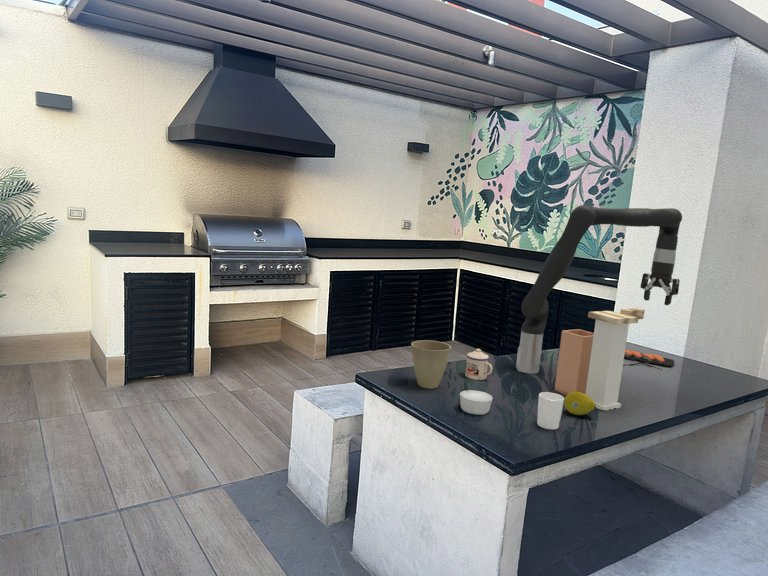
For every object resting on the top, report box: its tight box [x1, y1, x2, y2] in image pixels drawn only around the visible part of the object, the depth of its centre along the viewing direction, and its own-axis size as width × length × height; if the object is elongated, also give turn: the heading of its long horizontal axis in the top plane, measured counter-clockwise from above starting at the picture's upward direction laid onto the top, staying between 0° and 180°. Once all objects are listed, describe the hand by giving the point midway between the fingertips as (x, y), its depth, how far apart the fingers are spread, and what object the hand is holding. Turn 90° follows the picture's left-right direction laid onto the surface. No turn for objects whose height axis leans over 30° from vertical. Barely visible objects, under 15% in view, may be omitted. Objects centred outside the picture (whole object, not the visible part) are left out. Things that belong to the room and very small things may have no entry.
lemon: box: [563, 391, 596, 416], centre depth 193 cm, size 11×8×8 cm
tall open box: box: [554, 328, 594, 396], centre depth 216 cm, size 10×10×24 cm
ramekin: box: [459, 389, 493, 415], centre depth 191 cm, size 11×11×5 cm
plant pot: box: [411, 339, 452, 390], centre depth 211 cm, size 15×15×16 cm
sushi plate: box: [623, 349, 675, 371], centre depth 272 cm, size 29×30×4 cm
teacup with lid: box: [464, 348, 493, 381], centre depth 226 cm, size 12×9×12 cm
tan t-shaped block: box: [587, 307, 645, 325], centre depth 204 cm, size 22×12×4 cm, turn 121°
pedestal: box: [586, 319, 630, 411], centre depth 204 cm, size 10×10×32 cm
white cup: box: [536, 391, 565, 431], centre depth 181 cm, size 8×8×10 cm
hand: (656, 302), depth 215 cm, fingers open, 8 cm apart
